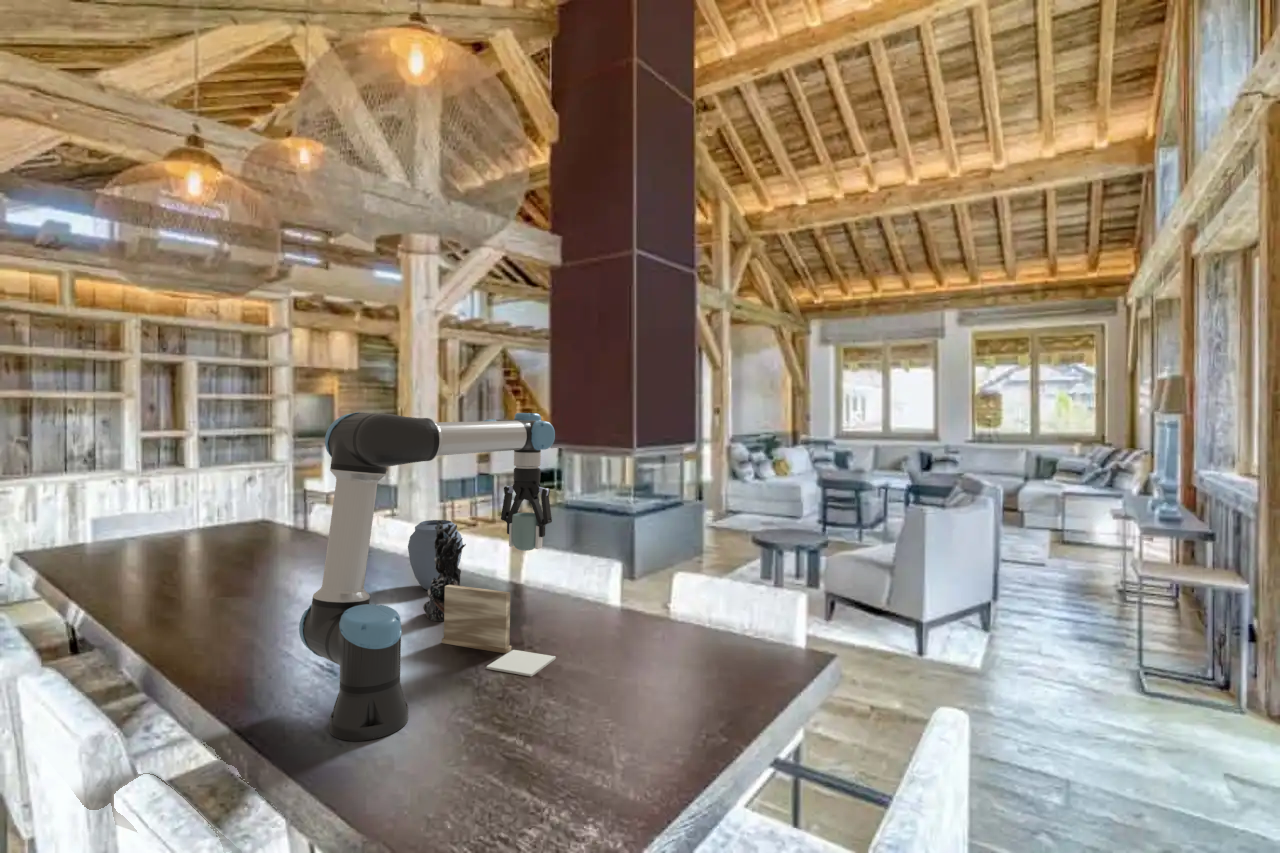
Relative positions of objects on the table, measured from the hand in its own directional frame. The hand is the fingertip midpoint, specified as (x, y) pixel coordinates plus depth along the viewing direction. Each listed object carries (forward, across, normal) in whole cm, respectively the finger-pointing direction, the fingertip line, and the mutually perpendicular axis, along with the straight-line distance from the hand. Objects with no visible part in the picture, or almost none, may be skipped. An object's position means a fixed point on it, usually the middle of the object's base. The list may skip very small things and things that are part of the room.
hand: (525, 546), depth 186 cm
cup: (+1, 0, 0) cm, 1 cm away
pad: (+27, -8, +15) cm, 32 cm away
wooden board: (+27, +10, +9) cm, 30 cm away
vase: (+27, +59, -37) cm, 75 cm away
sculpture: (+27, +35, -10) cm, 46 cm away
